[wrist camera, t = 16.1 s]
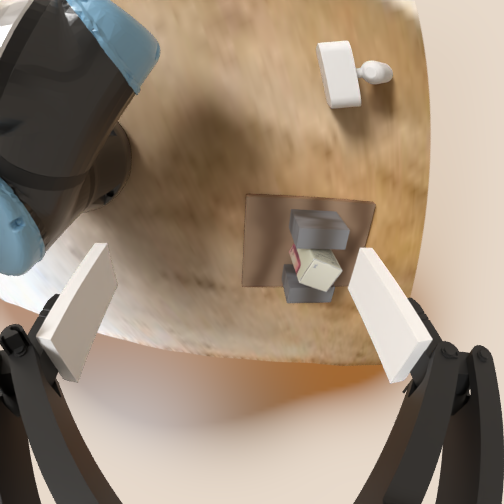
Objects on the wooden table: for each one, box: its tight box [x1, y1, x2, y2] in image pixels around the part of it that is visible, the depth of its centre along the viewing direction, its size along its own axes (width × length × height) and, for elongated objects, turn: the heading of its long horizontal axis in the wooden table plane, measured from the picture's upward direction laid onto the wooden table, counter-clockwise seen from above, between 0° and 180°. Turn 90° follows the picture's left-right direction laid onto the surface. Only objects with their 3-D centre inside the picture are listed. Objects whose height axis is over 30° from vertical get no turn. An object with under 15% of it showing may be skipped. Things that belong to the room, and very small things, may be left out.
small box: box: [289, 243, 342, 292], centre depth 41 cm, size 5×4×8 cm
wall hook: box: [316, 41, 393, 109], centre depth 28 cm, size 8×10×10 cm
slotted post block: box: [242, 194, 376, 303], centre depth 42 cm, size 20×16×7 cm
